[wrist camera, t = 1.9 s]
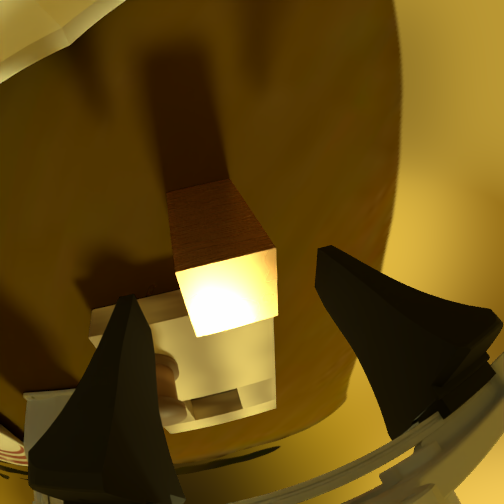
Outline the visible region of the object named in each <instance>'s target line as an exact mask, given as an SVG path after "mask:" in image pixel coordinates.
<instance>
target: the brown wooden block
mask: <svg viewBox="0 0 504 504" xmlns="http://www.w3.org/2000/svg"><path fill="white" fill-rule="evenodd" d="M166 193H167V205H168V215H169V225H170V234H171V243H172V251H173V259H174V266H175V273H176V276H177V279H178V283H179V286H180V289H181V292H182V295H183V298H184V301H185V304H186V307H187V310H188V313H189V316H190V319H191V322H192V325H193V328H194V330H195V333H196V336H197V337H200V336H204V335H208V334H212V333H216V332H220V331H224V330H228V329H231V328H235V327H239V326H242V325H246V324H250V323H253V322H257V321H260V320H264V319H267V318H271V317H274V316H277V315H278V299H277V264H276V247H275V246H274V244H273V243H272V241H271V240H270V238H269V237H268V235H267V234H266V232H265V231H264V229H263V228H262V226H261V225H260V223H259V222H258V220H257V219H256V217H255V216H254V214H253V213H252V211H251V210H250V208H249V207H248V205H247V204H246V202H245V201H244V199H243V198H242V196H241V195H240V193H239V192H238V190H237V189H236V187H235V186H234V184H233V183H232V182H231V180H230V179H226V180H221V181H216V182H211V183H206V184H202V185H197V186H192V187H188V188H184V189H179V190H175V191H171V192H166Z"/></svg>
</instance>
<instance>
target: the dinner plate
mask: <svg viewBox="0 0 504 504" xmlns="http://www.w3.org/2000/svg"><path fill="white" fill-rule="evenodd" d="M0 460H2V461H5V462H9V463H13V464H17V465H23V466H28V461H27V459H26V456H25V452H24V443H23V442H22V441H21V440H19V439H18V438H17V437H15V436H14V435H13V434H12V433H11V432H9V431H8V430H7V429H6V428H5V427H3V426H2V425H0Z"/></svg>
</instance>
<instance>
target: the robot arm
mask: <svg viewBox="0 0 504 504" xmlns="http://www.w3.org/2000/svg"><path fill="white" fill-rule="evenodd" d="M315 288H316V290H317V293H318V295H319V297H320V299H321V301H322V303H323V305H324V307H325V308H326V310H327V311H328V313H329V314H330V316H331V317H332V319H333V320H334V322H335V323H336V325H337V326H338V328H339V329H340V331H341V332H342V334H343V335H344V337H345V338H346V339H347V341H348V342H349V344H350V345H351V347H352V349H353V350H354V352H355V354H356V356H357V357H358V359H359V361H360V363H361V365H362V367H363V369H364V372H365V374H366V376H367V378H368V380H369V383H370V385H371V387H372V389H373V392H374V394H375V397H376V399H377V402H378V404H379V407H380V410H381V413H382V415H383V418H384V421H385V424H386V428H387V431H388V434H389V436H390V438H391V439H392V441H391V442H389V443H387V444H386V445H384V446H382V447H381V448H378V449H376V450H375V451H373V452H371V453H369V454H367V455H365V456H363V457H361V458H359V459H357V460H355V461H353V462H351V463H348V464H346V465H344V466H342V467H340V468H337V469H335V470H333V471H331V472H328V473H326V474H324V475H321V476H318V477H316V478H313V479H311V480H308V481H305V482H303V483H300V484H297V485H294V486H291V487H288V488H285V489H282V490H278V491H275V492H272V493H268V494H265V495H262V496H258V497H253V498H250V499H245V500H241V501H237V502H232V503H227V504H297V503H300V502H303V501H305V500H308V499H311V498H314V497H316V496H319V495H321V494H324V493H326V492H329V491H331V490H333V489H335V488H338V487H340V486H343V485H345V484H347V483H349V482H351V481H353V480H355V479H357V478H359V477H361V476H363V475H365V474H367V473H369V472H371V471H373V470H375V469H377V468H379V467H380V466H382V465H384V464H386V463H387V462H389V461H391V460H393V459H394V458H396V457H398V456H400V455H401V454H403V453H404V452H406V451H407V450H409V449H411V448H412V447H414V446H415V445H416V446H415V448H414V453H413V454H412V455H411V456H409V457H408V458H406V459H404V460H403V461H401V462H400V463H398V464H396V465H395V466H393V467H391V468H389V469H388V470H386V471H384V472H382V473H381V474H380V475H379V477H380V479H381V481H382V483H383V484H381V485H379V486H377V487H375V488H374V489H372V490H370V491H368V492H366V493H364V494H362V495H359V496H358V497H355V498H353V499H351V500H349V501H347V502H344V503H342V504H461V503H460V501H459V499H458V497H457V496H456V494H455V492H454V490H455V489H456V488H457V487H458V486H459V485H460V484H461V483H462V482H463V481H464V480H465V478H466V477H467V476H468V475H469V474H470V473H471V472H472V471H473V470H474V469H475V468H476V466H477V465H478V464H479V463H480V462H481V461H482V459H483V458H484V457H485V456H486V455H487V453H488V452H489V451H490V450H491V448H492V447H493V446H494V445H495V444H496V442H497V441H498V440H499V438H500V437H501V436H502V434H503V433H504V352H503V353H502V354H501V355H500V356H499V357H498V358H497V359H496V360H495V361H494V362H493V363H492V364H491V365H490V364H489V363H488V362H487V360H489V358H490V357H489V355H488V354H487V352H486V351H487V349H488V348H489V347H490V345H491V344H492V343H493V341H494V340H495V339H496V337H497V336H498V334H499V333H500V331H501V329H502V327H503V322H502V321H501V320H500V319H499V318H498V317H497V315H496V314H495V313H494V312H493V311H492V310H491V309H488V308H481V307H475V306H469V305H465V304H460V303H456V302H452V301H449V300H445V299H442V298H439V297H436V296H433V295H430V294H427V293H424V292H421V291H419V290H417V289H414V288H412V287H410V286H407V285H405V284H403V283H400V282H398V281H396V280H394V279H392V278H390V277H388V276H386V275H385V274H383V273H381V272H379V271H377V270H375V269H373V268H372V267H370V266H368V265H366V264H364V263H363V262H361V261H359V260H357V259H356V258H354V257H352V256H350V255H349V254H347V253H345V252H343V251H341V250H340V249H338V248H336V247H334V246H332V245H330V246H326V247H322V248H318V253H317V266H316V278H315ZM23 397H24V398H25V399H26V400H27V408H26V417H25V429H24V452H25V456H26V459H27V461H28V481H29V482H28V483H29V486H30V487H31V488H32V489H33V490H34V499H35V501H34V502H33V504H183V503H184V502H185V500H186V498H185V496H184V493H183V491H182V488H181V486H180V483H179V480H178V477H177V475H176V472H175V469H174V466H173V463H172V459H171V456H170V453H169V449H168V446H167V442H166V438H165V434H164V430H163V426H162V421H161V417H160V412H159V405H158V394H157V380H156V364H155V351H154V344H153V338H152V332H151V328H150V326H149V324H148V322H147V320H146V318H145V316H144V314H143V312H142V310H141V308H140V306H139V303H138V301H137V299H136V297H135V295H134V294H131V295H127V296H123V297H119V299H118V301H117V303H116V305H115V308H114V310H113V312H112V315H111V317H110V319H109V322H108V324H107V326H106V329H105V331H104V333H103V335H102V338H101V340H100V342H99V345H98V347H97V349H96V351H95V353H94V355H93V357H92V359H91V361H90V363H89V365H88V367H87V369H86V371H85V373H84V375H83V377H82V379H81V380H80V382H79V384H78V386H77V388H76V389H66V390H56V391H44V392H29V393H23Z"/></svg>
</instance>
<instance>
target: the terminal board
mask: <svg viewBox="0 0 504 504" xmlns="http://www.w3.org/2000/svg"><path fill="white" fill-rule="evenodd" d="M137 301H138V303H139V306H140V308H141V310H142V312H143V314H144V316H145V318H146V320H147V322H148V324H149V326H150V328H151V332H152V338H153V344H154V351H155V364H156V380H157V394H158V405H159V412H160V417H161V421H162V426H163V427H165V428H166V429H167V430H168V431H169V432H170V433H171V434H173V433H178V432H184V431H189V430H194V429H199V428H204V427H208V426H213V425H217V424H221V423H225V422H229V421H233V420H237V419H241V418H244V417H248V416H251V415H255V414H258V413H261V412H265V411H268V410H271V409H274V408H276V386H275V353H274V326H273V317H271V318H267V319H264V320H260V321H257V322H253V323H250V324H246V325H242V326H239V327H235V328H231V329H228V330H224V331H220V332H216V333H212V334H208V335H204V336H200V337H197V336H196V333H195V330H194V328H193V325H192V322H191V319H190V316H189V313H188V310H187V307H186V304H185V301H184V298H183V295H182V292H181V289H179V290H175V291H171V292H167V293H163V294H159V295H154V296H150V297H146V298H142V299H137ZM114 308H115V305H112V306H107V307H103V308H98V309H94V310H92V314H91V321H90V329H89V339H90V340H91V342H92V343H93V344H94V346H95V347H96V349H97V347H98V345H99V342H100V340H101V338H102V335H103V333H104V331H105V329H106V326H107V324H108V322H109V319H110V317H111V315H112V312H113V310H114ZM235 388H236V390H232V389H235ZM228 390H232V391H228ZM224 391H228V392H224ZM220 392H224V393H220ZM216 393H220V394H216ZM212 394H216V395H212ZM208 395H212V396H208ZM204 396H208V397H204ZM199 397H204V398H199ZM195 398H199V399H195ZM191 399H195V400H191Z"/></svg>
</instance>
